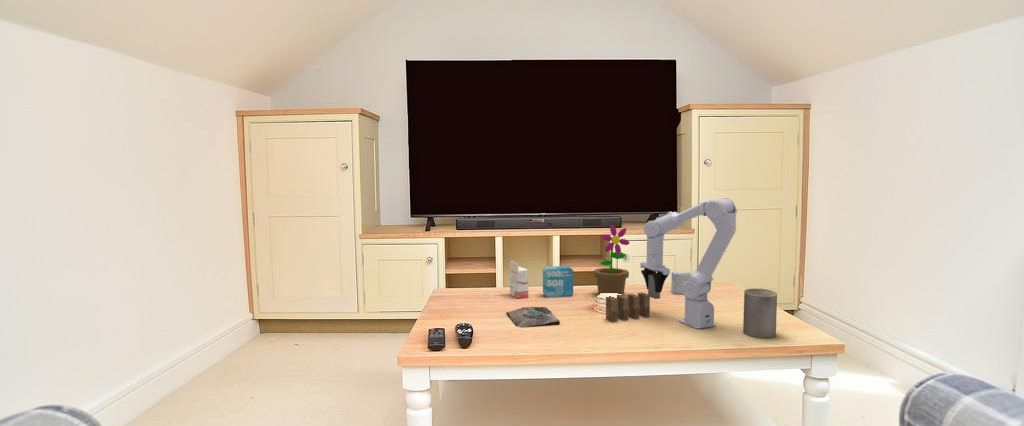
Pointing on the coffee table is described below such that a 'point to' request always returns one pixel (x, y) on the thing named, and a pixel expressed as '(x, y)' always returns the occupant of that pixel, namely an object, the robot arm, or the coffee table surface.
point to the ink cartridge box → (518, 281)
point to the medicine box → (679, 281)
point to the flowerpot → (611, 277)
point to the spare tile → (652, 288)
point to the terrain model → (532, 317)
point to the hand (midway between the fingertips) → (654, 290)
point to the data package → (558, 281)
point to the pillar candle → (760, 313)
